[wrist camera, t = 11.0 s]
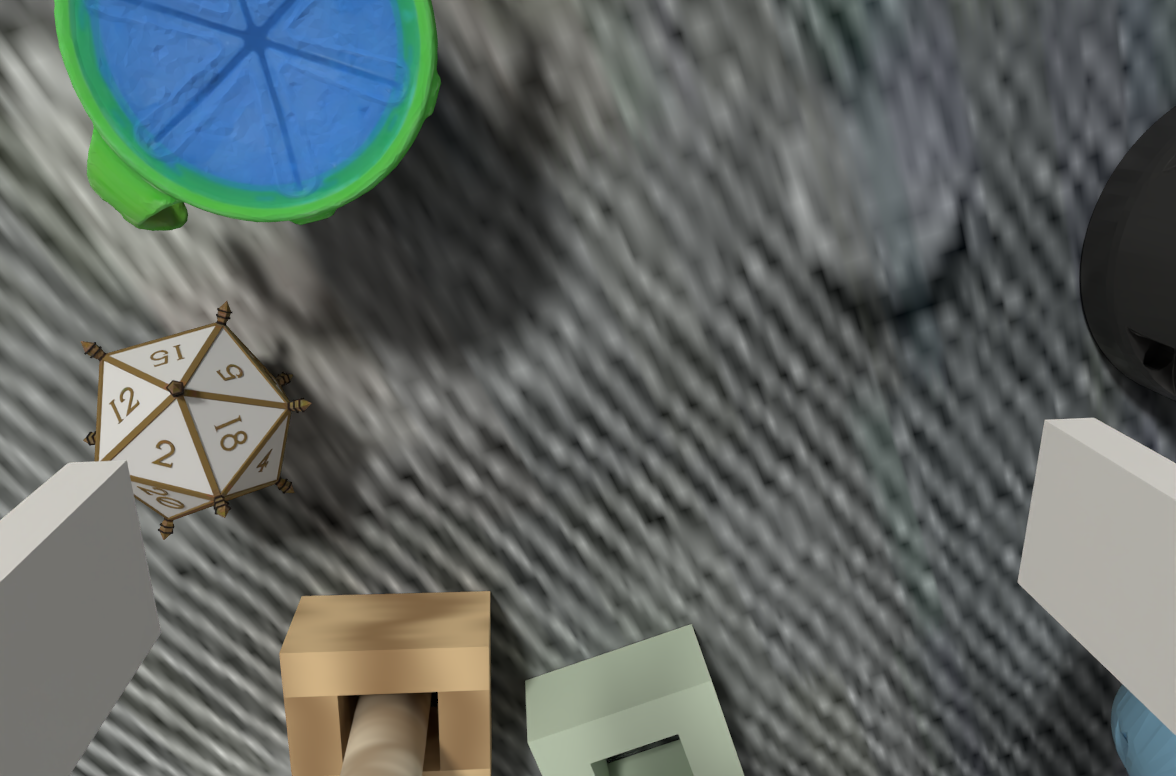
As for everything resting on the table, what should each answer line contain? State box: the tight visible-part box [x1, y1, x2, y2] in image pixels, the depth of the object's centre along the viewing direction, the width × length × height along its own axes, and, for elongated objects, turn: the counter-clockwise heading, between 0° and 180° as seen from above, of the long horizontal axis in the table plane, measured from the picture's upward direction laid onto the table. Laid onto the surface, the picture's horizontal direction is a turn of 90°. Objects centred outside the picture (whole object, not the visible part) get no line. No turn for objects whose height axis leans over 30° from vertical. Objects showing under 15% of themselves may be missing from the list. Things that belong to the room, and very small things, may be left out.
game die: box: [81, 301, 312, 540], centre depth 35 cm, size 9×8×10 cm
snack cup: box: [54, 0, 441, 231], centre depth 30 cm, size 16×10×10 cm
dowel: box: [340, 692, 432, 776], centre depth 37 cm, size 3×3×14 cm
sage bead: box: [525, 624, 744, 776], centre depth 44 cm, size 9×9×4 cm
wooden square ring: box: [279, 591, 492, 776], centre depth 42 cm, size 9×9×4 cm
